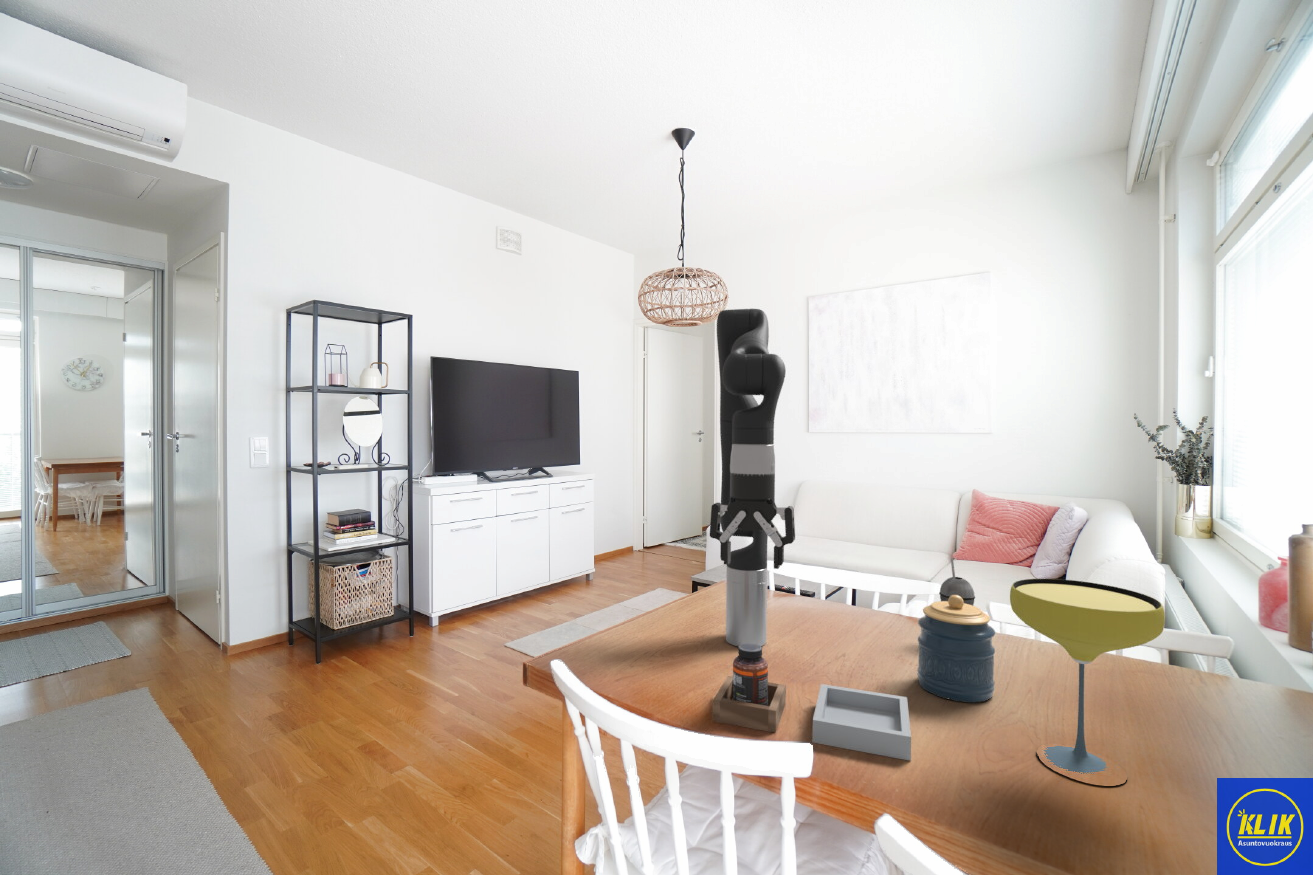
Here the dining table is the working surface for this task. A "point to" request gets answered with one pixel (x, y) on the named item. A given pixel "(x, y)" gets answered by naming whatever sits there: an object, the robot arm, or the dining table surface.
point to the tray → (863, 721)
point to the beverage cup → (957, 588)
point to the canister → (956, 651)
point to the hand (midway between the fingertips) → (751, 565)
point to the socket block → (749, 708)
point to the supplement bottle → (750, 675)
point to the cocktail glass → (1085, 635)
